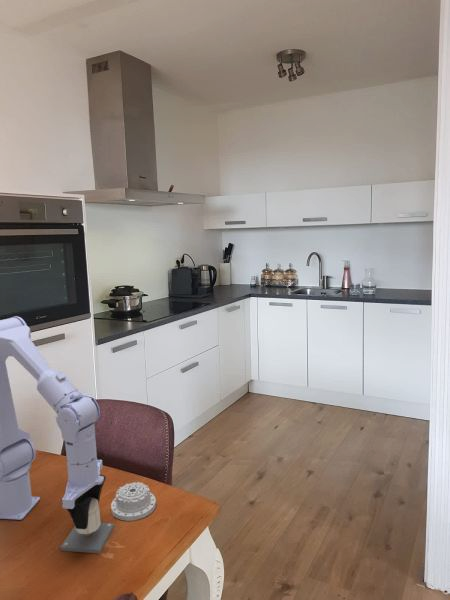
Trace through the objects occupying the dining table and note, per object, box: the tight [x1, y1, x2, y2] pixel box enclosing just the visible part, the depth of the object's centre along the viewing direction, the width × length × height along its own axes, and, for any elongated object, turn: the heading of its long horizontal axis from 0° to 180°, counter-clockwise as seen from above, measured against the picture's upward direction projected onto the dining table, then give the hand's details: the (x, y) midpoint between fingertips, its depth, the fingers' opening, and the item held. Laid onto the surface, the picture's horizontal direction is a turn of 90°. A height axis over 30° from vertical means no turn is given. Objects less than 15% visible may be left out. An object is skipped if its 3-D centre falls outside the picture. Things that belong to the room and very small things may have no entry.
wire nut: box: [76, 498, 102, 534], centre depth 94 cm, size 5×5×5 cm
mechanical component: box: [110, 481, 157, 522], centre depth 105 cm, size 10×4×10 cm
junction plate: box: [60, 522, 115, 554], centre depth 95 cm, size 8×8×4 cm
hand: (87, 519), depth 94 cm, fingers closed on wire nut, 5 cm apart
